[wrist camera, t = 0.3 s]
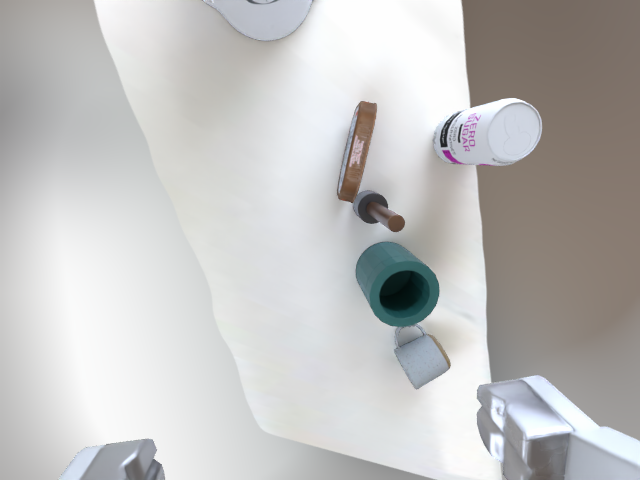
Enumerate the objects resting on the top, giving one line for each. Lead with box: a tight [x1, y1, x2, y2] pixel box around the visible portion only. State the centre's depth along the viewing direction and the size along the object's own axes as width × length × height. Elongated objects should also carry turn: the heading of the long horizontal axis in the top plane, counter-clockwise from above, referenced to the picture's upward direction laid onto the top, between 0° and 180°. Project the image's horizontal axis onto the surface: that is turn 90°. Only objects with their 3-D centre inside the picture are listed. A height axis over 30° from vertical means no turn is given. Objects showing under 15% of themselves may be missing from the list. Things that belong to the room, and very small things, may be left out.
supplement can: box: [433, 98, 542, 166], centre depth 46 cm, size 8×8×15 cm
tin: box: [337, 101, 377, 203], centre depth 49 cm, size 15×3×8 cm, turn 168°
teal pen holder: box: [356, 242, 439, 327], centre depth 53 cm, size 11×11×11 cm
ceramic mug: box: [394, 324, 451, 389], centre depth 59 cm, size 11×8×8 cm
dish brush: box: [353, 191, 405, 232], centre depth 48 cm, size 5×5×16 cm
